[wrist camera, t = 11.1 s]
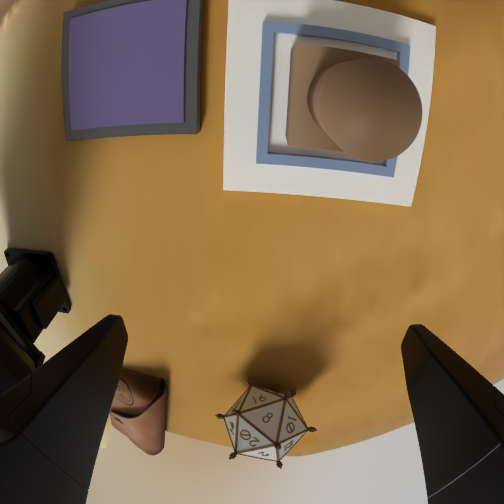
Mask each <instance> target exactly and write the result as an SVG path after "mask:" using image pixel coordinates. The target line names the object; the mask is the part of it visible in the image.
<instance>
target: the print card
mask: <svg viewBox="0 0 504 504" xmlns="http://www.w3.org/2000/svg"><path fill="white" fill-rule="evenodd" d="M435 36H436V26H433V25H431V24H428V23H425V22H422V21H419V20H415V19H412V18H409V17H406V16H402V15H399V14H395V13H391V12H387V11H384V10H380V9H375V8H371V7H367V6H362V5H357V4H352V3H347V2H341V1H335V0H229V6H228V26H227V49H226V77H225V113H224V172H223V190H232V191H251V192H267V193H282V194H295V195H307V196H319V197H330V198H340V199H350V200H360V201H369V202H378V203H386V204H394V205H402V206H410V207H411V204H412V200H413V196H414V192H415V187H416V183H417V178H418V173H419V168H420V163H421V158H422V153H423V147H424V141H425V135H426V129H427V122H428V115H429V108H430V100H431V91H432V81H433V70H434V56H435ZM294 43H301V44H311V45H319V46H327V47H334V48H340V49H346V50H352V51H358V52H363V53H368V54H373V55H378V56H382V57H386V58H391V59H395V60H399V61H400V69H401V70H402V71H403V72H405V73H406V74H407V75H408V76H409V78H410V79H411V80H412V82H413V83H414V85H415V87H416V88H417V91H418V93H419V96H420V99H421V104H422V122H421V127H420V130H419V133H418V135H417V137H416V138H415V140H414V141H413V143H412V144H411V145H410V146H409V148H408V149H406V150H405V151H404V152H403V153H401V154H400V155H398V156H396V157H394V158H392V159H389V160H385V161H377V162H372V161H365V160H361V159H358V158H355V157H353V156H351V155H349V154H348V153H346V152H340V151H332V150H323V149H313V148H302V147H291V146H288V144H287V140H286V135H285V133H286V119H287V104H288V88H289V71H290V53H291V48H292V47H293V45H294Z"/></svg>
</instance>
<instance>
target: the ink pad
mask: <svg viewBox="0 0 504 504" xmlns="http://www.w3.org/2000/svg"><path fill="white" fill-rule="evenodd" d="M203 10H204V0H106V1H102V2H98V3H94V4H91V5H87V6H84V7H80V8H77V9H74V10H71V11H68V12H65V13H64V18H63V36H62V91H63V110H64V123H65V134H66V141H73V140H83V139H93V138H105V137H118V136H135V135H159V134H197V133H199V132H200V108H201V57H202V30H203Z"/></svg>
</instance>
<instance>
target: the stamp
mask: <svg viewBox="0 0 504 504" xmlns="http://www.w3.org/2000/svg"><path fill="white" fill-rule="evenodd" d="M421 122H422V104H421V99H420V96H419V93H418V91H417V88H416V87H415V85H414V83H413V82H412V80H411V79H410V78H409V76H408V75H407V74H406V73H405V72H403V71H402V70H401V69H400V61H399V60H395V59H391V58H386V57H382V56H378V55H373V54H368V53H363V52H358V51H352V50H346V49H340V48H334V47H327V46H319V45H311V44H301V43H294V45H293V47H292V48H291V53H290V71H289V88H288V104H287V119H286V133H285V135H286V140H287V144H288V146H291V147H302V148H313V149H323V150H332V151H340V152H346V153H348V154H349V155H351V156H353V157H355V158H358V159H361V160H365V161H372V162H377V161H385V160H389V159H392V158H394V157H396V156H398V155H400V154H401V153H403V152H404V151H405V150H406V149H408V148H409V146H410V145H411V144H412V143H413V141H414V140H415V138H416V137H417V135H418V133H419V130H420V127H421Z"/></svg>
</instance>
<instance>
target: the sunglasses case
mask: <svg viewBox="0 0 504 504" xmlns="http://www.w3.org/2000/svg"><path fill="white" fill-rule="evenodd" d="M166 400H167V386H166V384H165V382H164V380H163V378H157V377H154V376H150V375H146V374H143V373H139V372H135V371H132V370H128V369H125V368H122V369H121V374H120V379H119V383H118V386H117V389H116V392H115V396H114V399H113V402H112V405H111V408H110V417H111V421H112V425H113V426H114V427H115V428H116V429H117V430H119V431H120V432H122V433H123V434H124V435H126V436H127V437H128V438H129V439H130V440H131V441H132V442H133V443H134V444H135V445H137V447H139V448H140V449H141V450H143V451H144V452H145V453H147V454H149V455H156V454H158V453H160V452H161V451H162V449H163V448H164V441H165V415H166Z"/></svg>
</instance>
